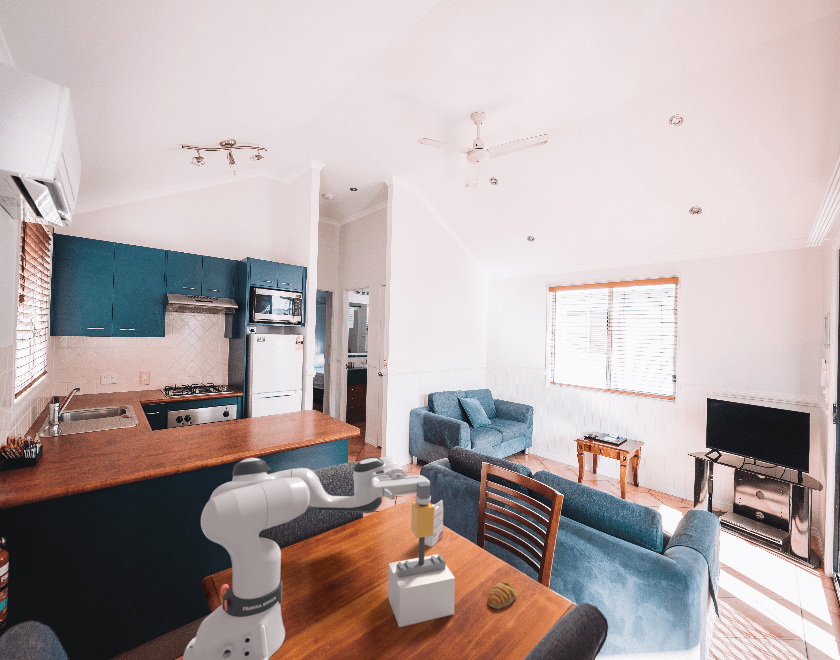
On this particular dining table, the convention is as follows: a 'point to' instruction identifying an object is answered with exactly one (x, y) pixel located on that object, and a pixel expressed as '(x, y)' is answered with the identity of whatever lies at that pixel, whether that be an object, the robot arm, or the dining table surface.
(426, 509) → the sleeve
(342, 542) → the dining table surface
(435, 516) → the ink cartridge box
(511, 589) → the pastry
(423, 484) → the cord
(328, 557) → the dining table surface
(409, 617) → the comb base
